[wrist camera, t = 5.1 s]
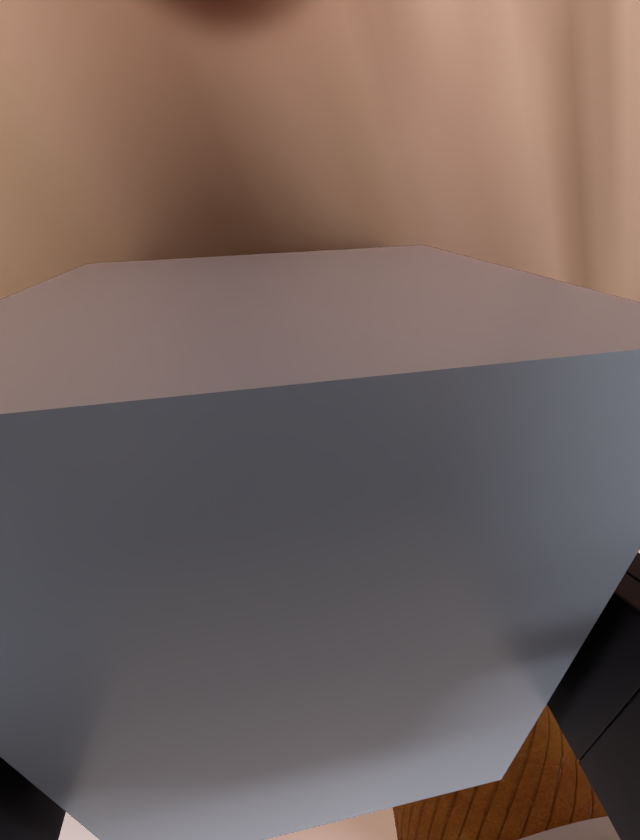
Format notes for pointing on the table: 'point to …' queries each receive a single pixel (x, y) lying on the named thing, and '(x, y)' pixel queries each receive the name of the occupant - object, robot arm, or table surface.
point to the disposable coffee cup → (517, 799)
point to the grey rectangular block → (301, 529)
